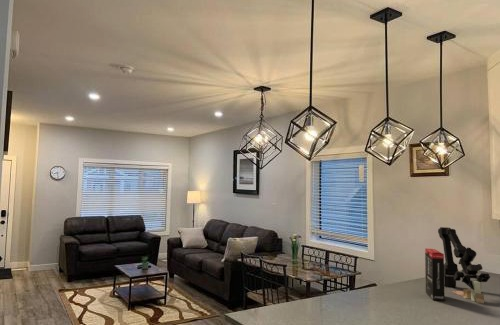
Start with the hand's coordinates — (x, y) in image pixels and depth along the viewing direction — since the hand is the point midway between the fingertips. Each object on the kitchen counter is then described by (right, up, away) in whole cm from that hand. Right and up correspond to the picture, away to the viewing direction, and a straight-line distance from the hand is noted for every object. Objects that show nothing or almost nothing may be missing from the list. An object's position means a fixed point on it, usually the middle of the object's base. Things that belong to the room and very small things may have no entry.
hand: (477, 289), depth 212 cm
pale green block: (0, -7, +1) cm, 7 cm away
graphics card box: (-22, -6, +5) cm, 24 cm away
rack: (0, -7, +2) cm, 7 cm away
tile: (+1, -8, +16) cm, 18 cm away
